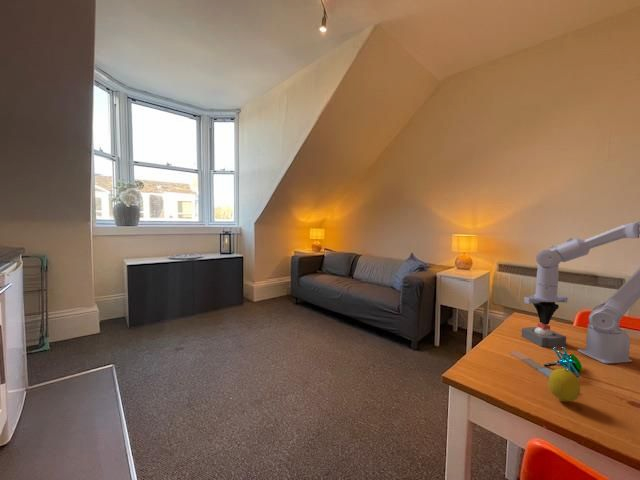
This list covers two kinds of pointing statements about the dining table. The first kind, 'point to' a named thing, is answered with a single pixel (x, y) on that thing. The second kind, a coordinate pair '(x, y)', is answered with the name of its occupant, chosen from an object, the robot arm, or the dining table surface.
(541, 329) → the dome button
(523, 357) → the track tiles
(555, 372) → the lemon
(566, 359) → the stick construction toy
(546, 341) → the dome housing
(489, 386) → the dining table surface
